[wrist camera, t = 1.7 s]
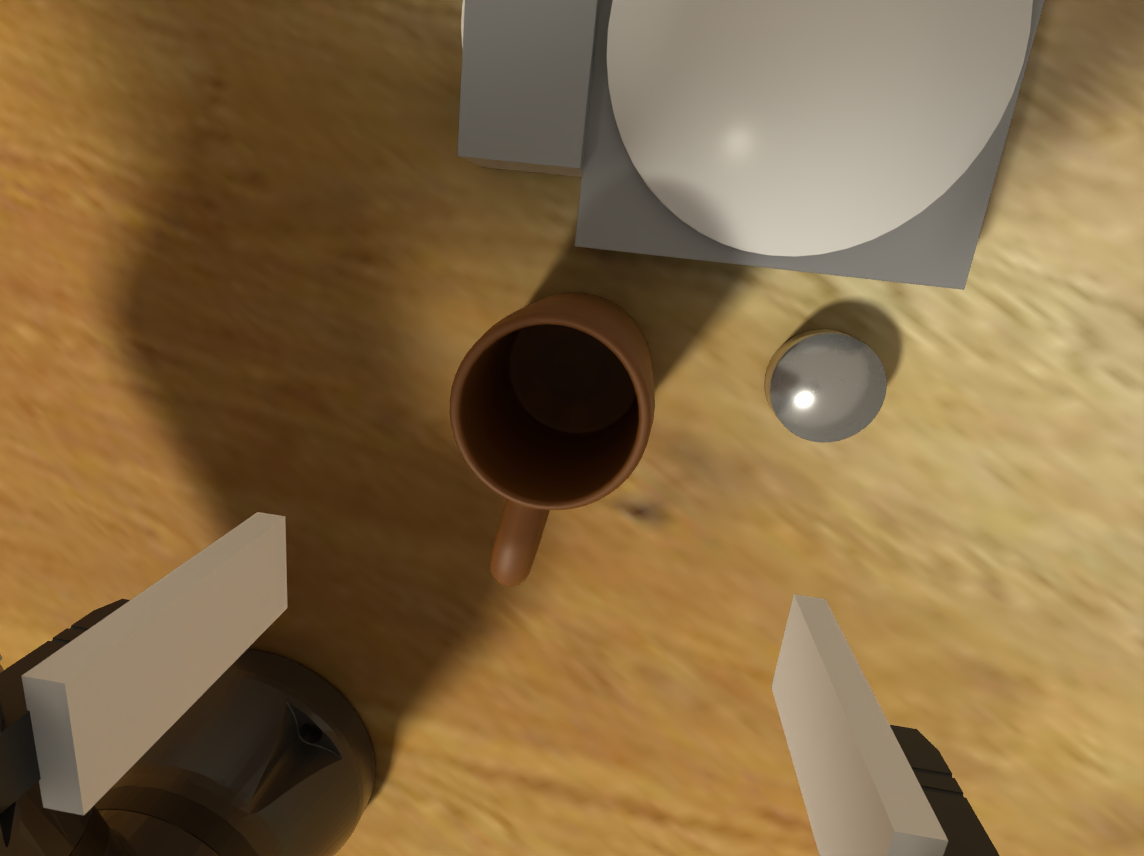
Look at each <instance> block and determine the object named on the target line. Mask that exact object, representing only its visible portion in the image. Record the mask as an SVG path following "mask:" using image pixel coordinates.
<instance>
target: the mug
mask: <svg viewBox="0 0 1144 856" xmlns="http://www.w3.org/2000/svg"><path fill="white" fill-rule="evenodd" d="M654 408H655V399H654V376H653V366H652V360H651V354H650V351H649V347H648V344H647V342H646V340H645V338H644V335H643V333H642V332H641V330H640V329H639V327H638V325H637V324H636V323H635V322H634V321H633V319H632V318H631V317H630V316H629V315H628V314H627V313H626V312H625V311H624V310H622V309H621V308H619V307H618V306H617V305H615V304H613V303H612V302H610V301H608V300H606V299H603V298H601V297H598V296H595V295H590V294H586V293H562V294H556V295H552V296H549V297H546V298H543V299H541V300H539V301H537V302H534V303H532V304H530V305H528V306H526V307H524V308H522V309H520V310H518V311H516V312H514V313H512V314H510V315H508V316H507V317H505V318H504V319H502V320H501V321H499V322H498V323H496V324H495V325H493V326H492V327H491V328H490V329H489V330H488V331H487V332H486V333H485V334H484V335H483V336H482V337H481V338H480V339H479V340H478V341H477V342H476V343H475V344H474V345H473V347H472V348H471V349H470V350H469V351H468V353H467V354H466V356H465V357H464V359H463V361H462V362H461V364H460V366H459V368H458V370H457V373H456V375H455V378H454V382H453V385H452V390H451V396H450V419H451V426H452V430H453V434H454V438H455V441H456V443H457V446H458V448H459V450H460V452H461V454H462V456H463V458H464V460H465V461H466V463H467V464H468V465H469V467H470V468H471V470H472V471H473V472H474V473H475V474H476V475H477V477H478V478H479V479H480V480H481V481H482V482H483V483H485V484H486V485H487V486H488V487H489V488H490V489H492V490H493V491H495V492H496V493H498V494H499V495H501V496H503V497H505V498H507V502H506V505H505V508H504V511H503V515H502V518H501V521H500V524H499V528H498V531H497V534H496V538H495V541H494V545H493V549H492V554H491V559H490V570H491V574H492V576H493V577H494V579H495V580H496V581H497V582H499V583H500V584H502V585H504V586H515V585H519V584H520V583H522V582H523V581H524V580H525V579H526V578H527V576H528V574H529V572H530V570H531V567H532V564H533V561H534V558H535V555H536V552H537V549H538V546H539V543H540V540H541V537H542V534H543V530H544V527H545V524H546V521H547V517H548V514H549V511H550V510H564V509H573V508H577V507H581V506H585V505H588V504H590V503H593V502H595V501H598V500H600V499H601V498H603V497H605V496H607V495H608V494H610V493H611V492H613V491H614V490H615V489H617V488H618V487H619V486H620V485H621V484H622V483H623V482H624V481H625V480H626V479H627V478H628V477H629V476H630V474H631V473H632V472H633V471H634V469H635V468H636V466H637V465H638V463H639V461H640V459H641V458H642V455H643V453H644V451H645V448H646V446H647V442H648V438H649V435H650V431H651V427H652V423H653V417H654Z"/></svg>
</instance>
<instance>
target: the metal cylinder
mask: <svg viewBox="0 0 1144 856" xmlns="http://www.w3.org/2000/svg"><path fill="white" fill-rule="evenodd" d="M886 385H887V381H886V374H885V370H884V367H883V365H882V362H881V360H880V359H879V357H878V356H877V354H876V353H875V352H874V351H873V350H872V349H871V348H870V347H869V346H868V345H866V344H865V343H863V342H861V341H859V340H857V339H855V338H853V337H851V336H849V335H847V334H845V333H842V332H839V331H836V330H830V329H816V330H810V331H806V332H803V333H801V334H798V335H796V336H794V337H793V338H791V339H789V340H788V341H787V342H785V343H784V344H783V345H782V346H781V347H780V348H779V349H778V350H777V351H776V353H775V354H774V355H773V357H772V359H771V360H770V362H769V365H768V367H767V370H766V374H765V381H764V388H765V395H766V398H767V401H768V403H769V405H770V407H771V409H772V410H773V412H774V413H775V415H776V416H777V417H778V419H779V420H780V421H781V423H782V424H783V425H784V426H785V427H786V428H787V429H788V430H789V431H790V432H792V433H793V434H795V435H797V436H799V437H801V438H803V439H806V440H809V441H814V442H834V441H839V440H843V439H846V438H848V437H851V436H853V435H855V434H856V433H858V432H860V431H861V430H862V429H864V428H865V427H866V426H867V425H868V424H869V423H871V421H872V420H873V419H874V418H875V417H876V415H877V414H878V412H879V410H880V408H881V406H882V404H883V401H884V398H885V394H886Z"/></svg>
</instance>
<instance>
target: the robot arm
mask: <svg viewBox="0 0 1144 856" xmlns="http://www.w3.org/2000/svg"><path fill="white" fill-rule="evenodd" d="M286 609H287V567H286V521H285V516H280V515H274V514H267V513H261V512H257V513H255V514H254V515H253V516H251V517H250V518H248V519H247V520H245V521H244V522H242V523H241V524H240V525H238V526H237V527H235V528H234V529H232V530H231V531H229V532H228V533H227V534H225V535H224V536H222V537H221V538H219V539H218V540H217V541H215V542H214V543H212V544H211V545H209V546H208V547H206V548H205V549H204V550H202V551H201V552H199V553H198V554H196V555H195V556H193V557H192V558H191V559H189V560H188V561H186V562H185V563H183V564H182V565H180V566H179V567H178V568H176V569H175V570H173V571H172V572H170V573H169V574H167V575H166V576H165V577H163V578H162V579H160V580H159V581H157V582H156V583H155V584H153V585H152V586H150V587H149V588H147V589H146V590H144V591H143V592H142V593H140V594H139V595H137V596H136V597H134V598H133V599H131V600H126V599H121V600H119V601H116V602H114V603H111V604H109V605H106V606H104V607H101V608H99V609H96V610H94V611H92V612H91V613H89V614H88V615H86V616H85V617H83V618H82V619H80V620H79V621H77V622H76V623H74V624H73V625H71V628H70V629H68V628H67V629H65V630H64V631H62V632H61V633H59V634H58V635H56V636H55V637H53V640H52V641H47V642H46V643H44V644H43V645H41V646H40V647H38V648H37V649H35V650H34V651H32V652H31V653H29V654H28V655H26V656H25V657H23V658H22V659H20V660H19V661H17V662H16V663H14V664H13V665H11V666H10V667H8V668H7V669H5V670H4V669H3V668H2V666H1V665H0V856H333V855H335V854H336V853H337V852H338V850H339V849H340V848H341V847H342V846H343V845H344V844H345V843H346V841H347V840H348V839H349V837H350V836H351V834H352V833H353V831H354V830H355V828H356V826H357V824H358V822H359V820H360V818H361V816H362V814H363V812H364V810H365V808H366V806H367V804H368V802H369V800H370V797H371V795H372V792H373V788H374V783H375V774H376V767H375V757H374V752H373V748H372V744H371V741H370V738H369V736H368V733H367V731H366V729H365V727H364V725H363V723H362V721H361V720H360V718H359V717H358V715H357V713H356V712H355V711H354V709H353V708H352V707H351V705H350V704H349V703H348V702H347V701H346V699H345V698H344V697H343V696H342V695H341V694H340V693H339V692H338V691H337V690H336V689H335V688H333V687H332V686H331V685H330V684H329V683H328V682H326V681H325V680H324V679H322V678H321V677H320V676H318V675H317V674H315V673H313V672H312V671H310V670H309V669H307V668H305V667H303V666H301V665H299V664H297V663H295V662H293V661H291V660H288V659H286V658H283V657H280V656H277V655H274V654H270V653H267V652H262V651H257V650H250V649H248V648H249V647H250V646H251V645H252V644H253V643H254V642H255V641H256V640H257V639H258V637H259V636H260V635H261V634H262V633H263V632H264V631H265V630H266V629H267V628H268V627H269V626H270V625H271V624H272V623H273V622H274V621H275V620H276V619H277V618H278V617H279V616H280V615H281V614H282V613H283V612H284V611H285V610H286ZM1 659H2V657H1V655H0V660H1ZM772 691H773V694H774V698H775V701H776V705H777V708H778V712H779V715H780V719H781V722H782V726H783V729H784V733H785V736H786V740H787V743H788V747H789V750H790V754H791V757H792V761H793V764H794V768H795V771H796V775H797V778H798V782H799V785H800V789H801V792H802V796H803V799H804V803H805V806H806V810H807V813H808V817H809V820H810V824H811V827H812V831H813V834H814V838H815V841H816V845H817V848H818V852H819V855H820V856H999V854H998V852H997V850H996V849H995V847H994V845H993V844H992V842H991V840H990V838H989V837H988V835H987V833H986V831H985V830H984V828H983V826H982V825H981V823H980V821H979V819H978V818H977V816H976V814H975V812H974V811H973V809H972V807H971V806H970V804H969V802H968V800H967V799H966V798H964V797H963V792H962V790H961V788H960V787H959V785H958V783H957V781H956V780H955V778H952V773H951V771H950V769H949V768H948V766H947V764H946V762H945V761H944V759H943V757H942V756H941V754H940V752H939V751H938V750H937V749H936V748H935V747H934V746H933V745H932V744H931V743H930V742H929V741H928V740H927V739H926V738H925V737H924V736H923V735H922V734H921V733H920V732H919V731H918V730H917V729H912V728H906V727H900V726H894V725H889V723H888V721H887V719H886V717H885V715H884V713H883V711H882V709H881V707H880V705H879V703H878V701H877V699H876V697H875V695H874V693H873V691H872V689H871V687H870V686H869V684H868V682H867V680H866V678H865V676H864V674H863V672H862V670H861V668H860V666H859V664H858V662H857V660H856V658H855V656H854V654H853V652H852V650H851V648H850V646H849V644H848V642H847V640H846V638H845V636H844V634H843V632H842V630H841V628H840V626H839V625H838V623H837V621H836V619H835V617H834V615H833V613H832V611H831V609H830V607H829V605H828V603H827V601H826V599H822V598H816V597H809V596H803V595H796V594H794V596H793V600H792V604H791V609H790V613H789V617H788V621H787V625H786V629H785V634H784V638H783V642H782V646H781V650H780V654H779V659H778V663H777V667H776V671H775V675H774V680H773V684H772Z"/></svg>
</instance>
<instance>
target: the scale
mask: <svg viewBox="0 0 1144 856" xmlns="http://www.w3.org/2000/svg"><path fill="white" fill-rule="evenodd" d="M1044 1H1045V0H463V4H462V15H461V37H462V49H463V52H462V72H461V93H460V113H459V134H458V154H457V156H459V157H461V158H463V159H465V160H468V161H470V162H472V163H474V164H476V165H479V166H481V167H486V168H496V169H506V170H515V171H525V172H535V173H545V174H554V175H564V176H574V177H582V180H581V190H580V200H579V210H578V219H577V229H576V239H575V246H577V247H586V248H595V249H604V250H612V251H621V252H630V253H639V254H648V255H657V256H666V257H675V258H684V259H693V260H702V261H711V262H720V263H729V264H738V265H747V266H756V267H765V268H774V269H783V270H792V271H801V272H810V273H819V274H828V275H837V276H846V277H855V278H864V279H873V280H882V281H891V282H900V283H909V284H918V285H927V286H936V287H945V288H953V289H962V290H964V288H965V285H966V281H967V278H968V274H969V270H970V267H971V263H972V260H973V256H974V252H975V249H976V245H977V242H978V238H979V235H980V231H981V227H982V224H983V220H984V217H985V213H986V209H987V206H988V202H989V199H990V195H991V191H992V188H993V184H994V181H995V177H996V174H997V170H998V166H999V163H1000V159H1001V156H1002V152H1003V148H1004V145H1005V141H1006V138H1007V134H1008V130H1009V127H1010V123H1011V120H1012V116H1013V113H1014V109H1015V105H1016V102H1017V98H1018V95H1019V91H1020V87H1021V84H1022V80H1023V77H1024V73H1025V69H1026V66H1027V62H1028V59H1029V55H1030V52H1031V48H1032V44H1033V41H1034V37H1035V34H1036V30H1037V26H1038V23H1039V19H1040V16H1041V12H1042V8H1043V5H1044Z"/></svg>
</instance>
